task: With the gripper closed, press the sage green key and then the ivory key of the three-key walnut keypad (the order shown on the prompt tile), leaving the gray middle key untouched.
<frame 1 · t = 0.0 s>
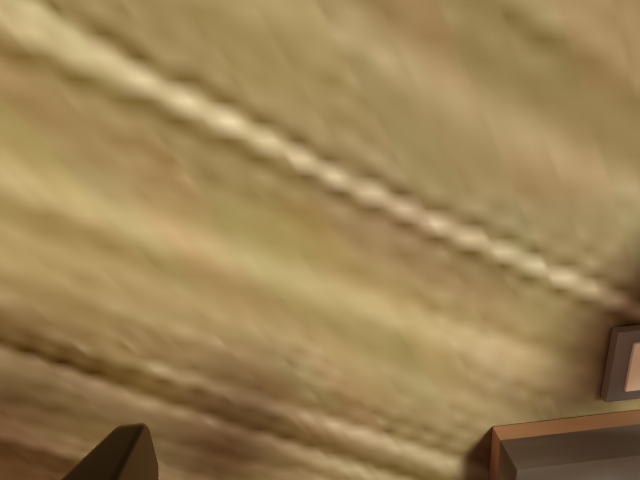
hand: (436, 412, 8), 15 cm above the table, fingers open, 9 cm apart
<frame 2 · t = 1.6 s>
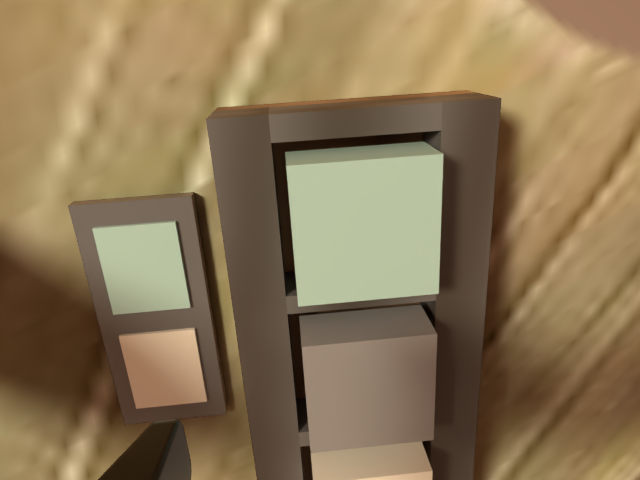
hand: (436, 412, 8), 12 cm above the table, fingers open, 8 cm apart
keypad: (352, 327, 21), on the table
key gray: (366, 378, 18), point 4 cm above the table, slide at 0.0 cm
key sage green: (361, 222, 16), point 3 cm above the table, slide at 0.0 cm
prompt tile: (157, 314, 20), on the table
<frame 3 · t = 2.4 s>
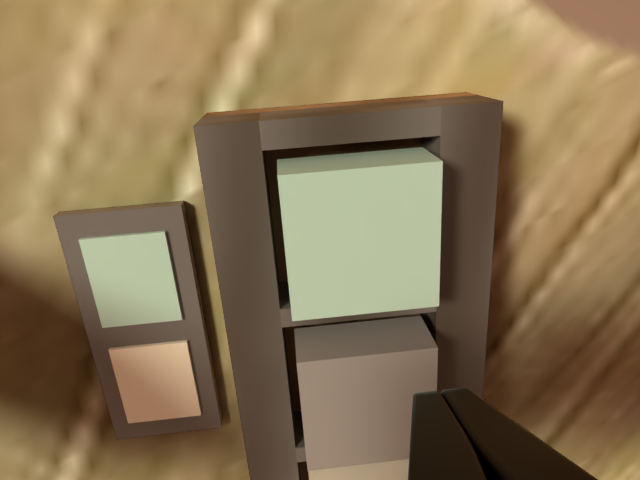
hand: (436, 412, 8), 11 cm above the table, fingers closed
keypad: (350, 337, 20), on the table
key gray: (364, 392, 17), point 4 cm above the table, slide at 0.0 cm
key sage green: (358, 233, 15), point 3 cm above the table, slide at 0.0 cm
prompt tile: (149, 326, 19), on the table
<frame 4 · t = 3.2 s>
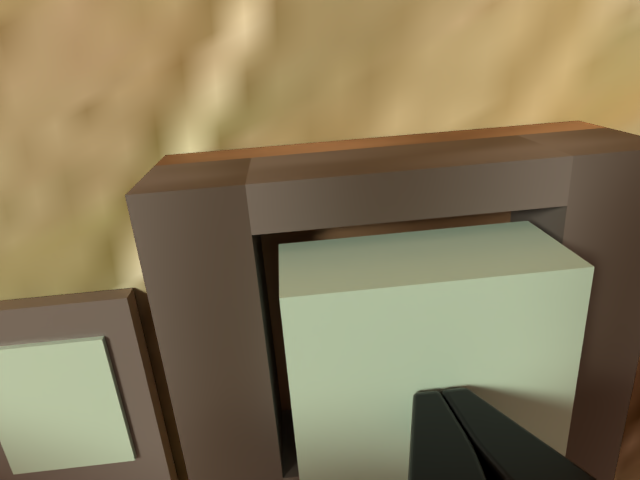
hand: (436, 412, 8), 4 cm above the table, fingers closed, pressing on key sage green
keypad: (384, 469, 14), on the table
key sage green: (419, 371, 9), point 3 cm above the table, slide at 0.0 cm, touching gripper
prompt tile: (88, 462, 13), on the table
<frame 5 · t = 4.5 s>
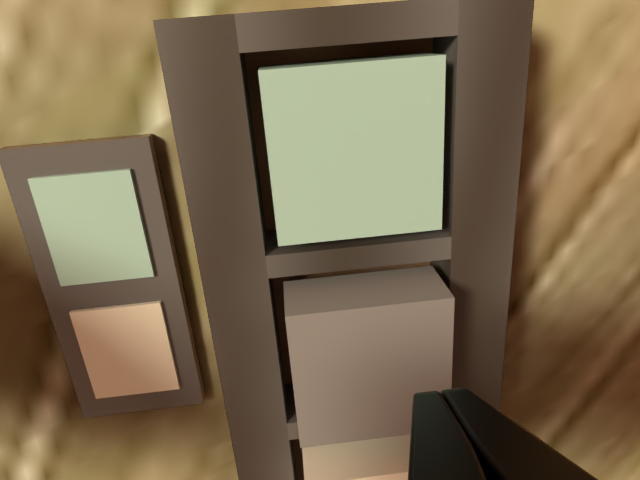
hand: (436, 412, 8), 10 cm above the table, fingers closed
keypad: (349, 298, 18), on the table
key gray: (366, 355, 15), point 3 cm above the table, slide at 0.0 cm
key sage green: (351, 148, 13), point 2 cm above the table, slide at 1.2 cm
prompt tile: (116, 285, 17), on the table
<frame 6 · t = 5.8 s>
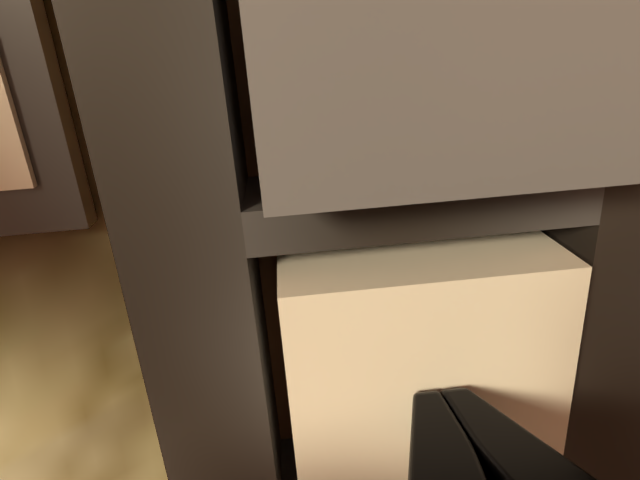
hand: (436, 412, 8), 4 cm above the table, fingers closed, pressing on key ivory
key ivory: (417, 371, 9), point 3 cm above the table, slide at 0.9 cm, touching gripper
keypad: (381, 6, 9), on the table
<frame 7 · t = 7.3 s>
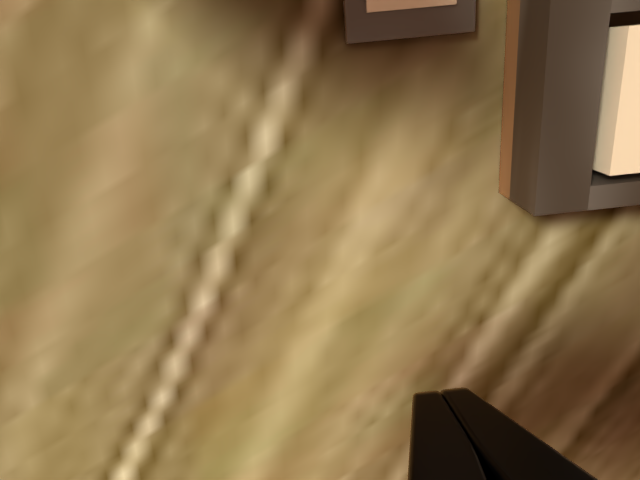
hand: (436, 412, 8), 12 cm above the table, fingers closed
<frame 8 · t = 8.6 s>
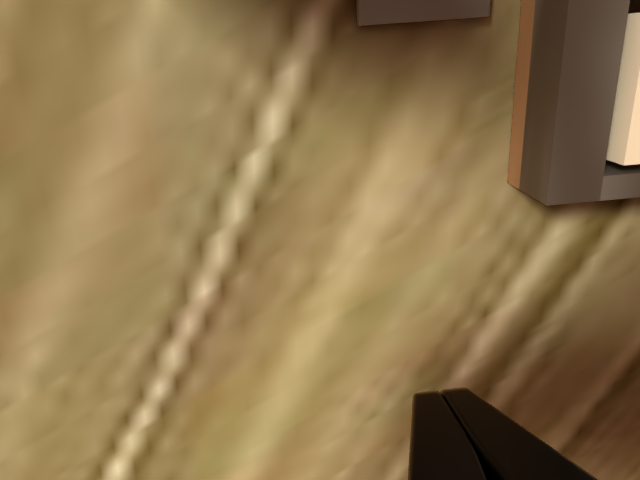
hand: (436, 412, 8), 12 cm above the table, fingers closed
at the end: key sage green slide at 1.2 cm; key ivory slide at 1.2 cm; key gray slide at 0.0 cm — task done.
